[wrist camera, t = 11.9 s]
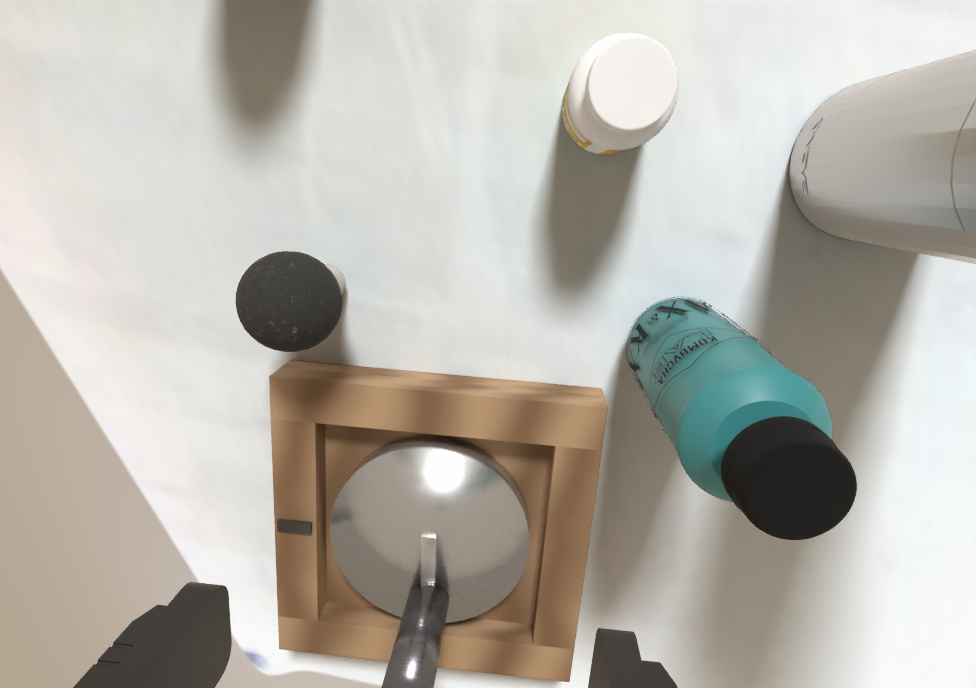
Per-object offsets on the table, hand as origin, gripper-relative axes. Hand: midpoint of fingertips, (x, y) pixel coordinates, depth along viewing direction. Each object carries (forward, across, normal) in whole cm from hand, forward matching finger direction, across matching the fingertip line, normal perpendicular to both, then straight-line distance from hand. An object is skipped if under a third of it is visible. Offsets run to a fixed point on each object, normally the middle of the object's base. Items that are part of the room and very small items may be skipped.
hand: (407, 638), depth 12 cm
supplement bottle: (+28, -6, -14) cm, 32 cm away
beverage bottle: (+28, -12, 0) cm, 31 cm away
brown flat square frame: (+28, +3, +15) cm, 32 cm away
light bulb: (+28, +11, -2) cm, 30 cm away
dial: (+27, +3, +15) cm, 31 cm away
